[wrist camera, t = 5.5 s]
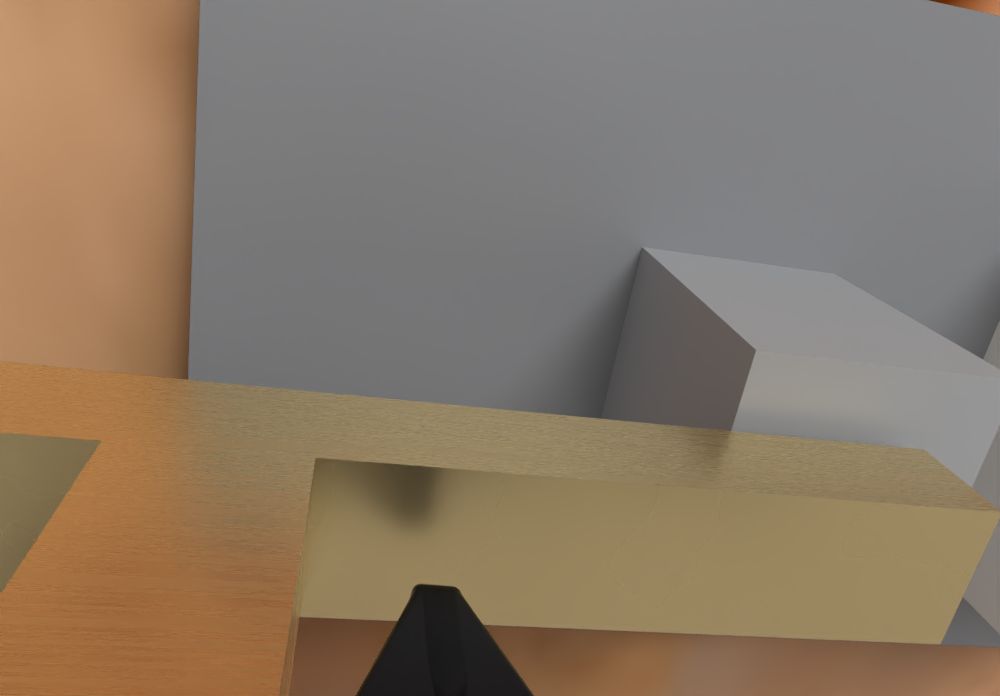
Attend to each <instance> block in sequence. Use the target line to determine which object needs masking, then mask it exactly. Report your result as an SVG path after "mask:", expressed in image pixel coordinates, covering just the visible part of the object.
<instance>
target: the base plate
mask: <svg viewBox="0 0 1000 696" xmlns="http://www.w3.org/2000/svg"><path fill="white" fill-rule="evenodd" d="M999 321H1000V16H998V15H993V14H988V13H984V12H979V11H974V10H970V9H965V8H960V7H956V6H951V5H946V4H942V3H937V2H932V1H928V0H200V21H199V52H198V83H197V115H196V146H195V177H194V208H193V240H192V271H191V302H190V334H189V365H188V380H198V381H208V382H219V383H229V384H240V385H250V386H261V387H271V388H282V389H292V390H303V391H314V392H324V393H335V394H345V395H356V396H366V397H377V398H387V399H398V400H408V401H419V402H430V403H440V404H451V405H461V406H472V407H482V408H493V409H503V410H514V411H524V412H535V413H545V414H556V415H567V416H577V417H588V418H598V419H609V420H619V421H630V422H640V423H651V424H661V425H672V426H682V427H693V428H704V429H714V430H725V431H735V432H746V433H756V434H767V435H777V436H788V437H798V438H809V439H819V440H830V441H841V442H851V443H862V444H872V445H883V446H893V447H904V448H914V449H924V450H926V451H927V452H928V453H929V454H931V455H932V456H933V457H934V458H935V459H937V460H938V461H939V462H940V463H942V464H943V465H944V466H945V467H947V468H948V469H949V470H950V471H952V472H953V473H954V474H955V475H957V476H958V477H959V478H960V479H961V480H963V481H964V482H965V483H966V484H968V485H969V486H970V487H971V488H972V486H973V484H974V482H975V480H976V477H977V475H978V473H979V471H980V468H981V466H982V464H983V462H984V459H985V457H986V455H987V453H988V450H989V448H990V446H991V444H992V441H993V439H994V437H995V435H996V433H997V430H998V428H999V426H1000V369H998V368H997V367H995V366H993V365H992V364H990V363H988V362H986V361H985V360H983V359H984V356H985V354H986V351H987V349H988V347H989V344H990V342H991V340H992V337H993V335H994V333H995V330H996V328H997V326H998V323H999ZM308 618H315V617H308ZM332 619H338V618H332ZM355 620H362V619H355ZM378 621H385V620H378ZM494 626H501V625H494ZM517 627H524V626H517ZM541 628H547V627H541ZM564 629H570V628H564ZM587 630H593V629H587ZM610 631H617V630H610ZM633 632H640V631H633ZM657 633H663V632H657ZM680 634H686V633H680ZM703 635H709V634H703ZM726 636H732V635H726ZM750 637H756V636H750ZM773 638H779V637H773ZM796 639H802V638H796ZM819 640H825V639H819ZM842 641H848V640H842ZM866 642H871V641H866ZM889 643H895V642H889ZM912 644H918V643H912ZM935 645H958V646H982V647H1000V634H999V633H998V632H997V631H996V630H995V629H994V628H993V627H992V626H991V625H990V624H989V623H988V622H987V621H986V620H985V619H984V618H983V617H982V616H981V615H980V614H979V613H978V612H977V611H976V610H975V609H974V608H973V607H972V606H971V605H970V604H969V603H968V602H967V601H966V600H965V599H964V598H963V597H962V599H961V602H960V604H959V606H958V608H957V610H956V612H955V614H954V617H953V619H952V621H951V623H950V625H949V627H948V629H947V631H946V634H945V636H944V638H943V640H942V642H941V644H935Z"/></svg>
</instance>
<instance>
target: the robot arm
mask: <svg viewBox="0 0 1000 696" xmlns="http://www.w3.org/2000/svg"><path fill="white" fill-rule="evenodd" d="M356 696H534V695H533V694H532V692H531V691H530V690H529V688H528V687H527V685H526V684H525V683H524V681H523V680H522V678H521V677H520V676H519V674H518V673H517V671H516V670H515V669H514V667H513V666H512V664H511V663H510V662H509V660H508V659H507V657H506V656H505V654H504V653H503V652H502V650H501V649H500V647H499V646H498V645H497V643H496V642H495V640H494V639H493V638H492V636H491V635H490V633H489V632H488V631H487V629H486V628H485V626H484V625H483V624H482V622H481V621H480V619H479V618H478V617H477V615H476V614H475V612H474V611H473V610H472V608H471V607H470V605H469V604H468V603H467V601H466V600H465V598H464V597H463V596H462V594H461V591H460V590H459V589H458V588H457V587H454V586H444V585H431V584H417V585H415V586H414V588H413V589H412V591H411V595H410V599H409V601H408V603H407V605H406V606H405V608H404V610H403V612H402V614H401V615H400V617H399V619H398V621H397V623H396V624H395V626H394V628H393V630H392V632H391V633H390V635H389V637H388V639H387V641H386V642H385V644H384V646H383V648H382V650H381V651H380V653H379V655H378V657H377V659H376V660H375V662H374V664H373V666H372V668H371V669H370V671H369V673H368V675H367V677H366V678H365V680H364V682H363V684H362V686H361V687H360V689H359V691H358V693H357V695H356Z"/></svg>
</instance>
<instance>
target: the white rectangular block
mask: <svg viewBox="0 0 1000 696" xmlns="http://www.w3.org/2000/svg"><path fill="white" fill-rule="evenodd" d="M983 360H985V361H986V362H988V363H990V364H992V365H993V366H995V367H997V368H998V369H1000V321H999V323H998V326H997V328H996V330H995V333H994V335H993V337H992V340H991V342H990V344H989V347H988V349H987V351H986V354H985V356H984V359H983ZM972 488H973V489H974V490H975V491H976V492H978V493H979V494H980V495H981V496H983V497H984V498H985V499H986V500H987V501H989V502H990V503H991V504H992V505H994V506H995V507H996V508H997V509H999V510H1000V426H999V428H998V430H997V433H996V435H995V437H994V439H993V441H992V444H991V446H990V448H989V450H988V453H987V455H986V457H985V459H984V462H983V464H982V466H981V468H980V471H979V473H978V475H977V477H976V480H975V482H974V484H973V486H972ZM963 598H964V599H965V600H966V601H967V602H968V603H969V604H970V605H971V606H972V607H973V608H974V609H975V610H976V611H977V612H978V613H979V614H980V615H981V616H982V617H983V618H984V619H985V620H986V621H987V622H988V623H989V624H990V625H991V626H992V627H993V628H994V629H995V630H996V631H997V632H998V633H999V634H1000V518H999V521H998V523H997V525H996V527H995V529H994V531H993V533H992V535H991V538H990V540H989V542H988V544H987V546H986V548H985V550H984V553H983V555H982V557H981V559H980V561H979V563H978V565H977V567H976V570H975V572H974V574H973V576H972V578H971V580H970V582H969V585H968V587H967V589H966V591H965V593H964V595H963Z"/></svg>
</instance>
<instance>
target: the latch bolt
mask: <svg viewBox="0 0 1000 696" xmlns="http://www.w3.org/2000/svg"><path fill="white" fill-rule="evenodd" d="M999 518H1000V510H999V509H997V508H996V507H995V506H994V505H992V504H991V503H990V502H989V501H987V500H986V499H985V498H984V497H983V496H981V495H980V494H979V493H978V492H976V491H975V490H974V489H973V488H971V487H970V486H969V485H968V484H966V483H965V482H964V481H963V480H961V479H960V478H959V477H958V476H957V475H955V474H954V473H953V472H952V471H950V470H949V469H948V468H947V467H945V466H944V465H943V464H942V463H940V462H939V461H938V460H937V459H935V458H934V457H933V456H932V455H931V454H929V453H928V452H927V451H926V450H924V449H914V448H904V447H893V446H883V445H872V444H862V443H851V442H841V441H830V440H819V439H809V438H798V437H788V436H777V435H767V434H756V433H746V432H735V431H725V430H714V429H704V428H693V427H682V426H672V425H661V424H651V423H640V422H630V421H619V420H609V419H598V418H588V417H577V416H567V415H556V414H545V413H535V412H524V411H514V410H503V409H493V408H482V407H472V406H461V405H451V404H440V403H430V402H419V401H408V400H398V399H387V398H377V397H366V396H356V395H345V394H335V393H324V392H314V391H303V390H292V389H282V388H271V387H261V386H250V385H240V384H229V383H219V382H208V381H198V380H187V379H177V378H166V377H155V376H145V375H134V374H124V373H113V372H103V371H92V370H82V369H71V368H61V367H50V366H40V365H29V364H18V363H8V362H0V696H289V690H290V683H291V676H292V669H293V662H294V654H295V647H296V640H297V633H298V626H299V618H300V617H315V618H338V619H362V620H385V621H398V619H399V617H400V615H401V614H402V612H403V610H404V608H405V606H406V605H407V603H408V601H409V599H410V595H411V591H412V589H413V588H414V586H415V585H417V584H431V585H444V586H454V587H457V588H458V589H459V590H460V591H461V594H462V596H463V597H464V598H465V600H466V601H467V603H468V604H469V605H470V607H471V608H472V610H473V611H474V612H475V614H476V615H477V617H478V618H479V619H480V621H481V622H482V624H483V625H501V626H524V627H547V628H570V629H593V630H617V631H640V632H663V633H686V634H709V635H732V636H756V637H779V638H802V639H825V640H848V641H871V642H895V643H918V644H941V642H942V640H943V638H944V636H945V634H946V631H947V629H948V627H949V625H950V623H951V621H952V619H953V617H954V614H955V612H956V610H957V608H958V606H959V604H960V602H961V599H962V597H963V595H964V593H965V591H966V589H967V587H968V585H969V582H970V580H971V578H972V576H973V574H974V572H975V570H976V567H977V565H978V563H979V561H980V559H981V557H982V555H983V553H984V550H985V548H986V546H987V544H988V542H989V540H990V538H991V535H992V533H993V531H994V529H995V527H996V525H997V523H998V521H999Z"/></svg>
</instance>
